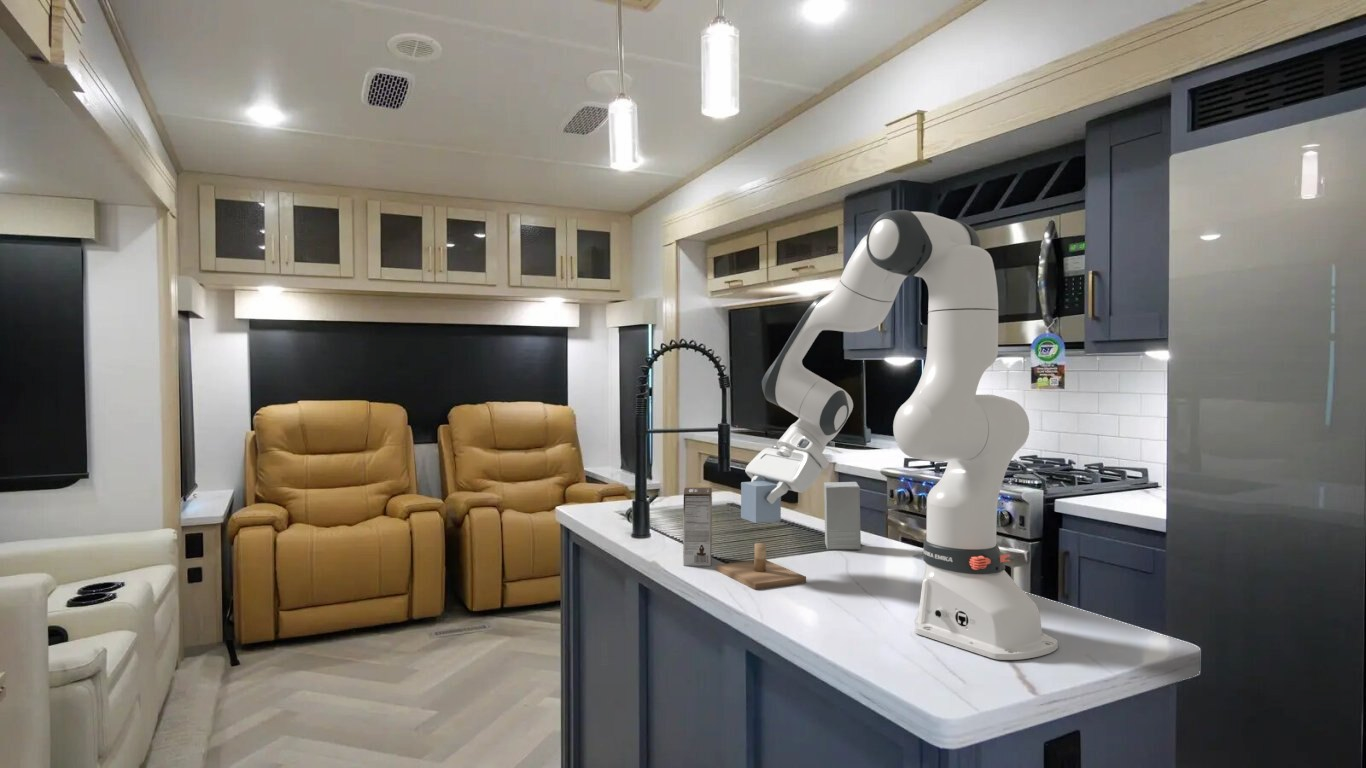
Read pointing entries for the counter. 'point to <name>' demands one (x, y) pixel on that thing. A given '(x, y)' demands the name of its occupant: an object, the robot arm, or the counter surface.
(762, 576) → the post base
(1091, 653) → the counter surface
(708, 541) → the coffee box
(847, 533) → the skincare box
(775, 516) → the pale blue cube
